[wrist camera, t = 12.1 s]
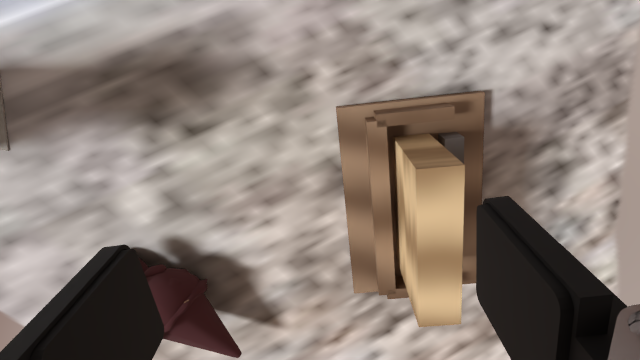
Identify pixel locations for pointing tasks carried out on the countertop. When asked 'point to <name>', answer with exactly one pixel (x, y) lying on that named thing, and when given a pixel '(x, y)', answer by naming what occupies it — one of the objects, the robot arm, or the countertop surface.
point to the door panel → (429, 227)
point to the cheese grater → (3, 124)
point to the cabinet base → (379, 186)
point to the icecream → (188, 310)
